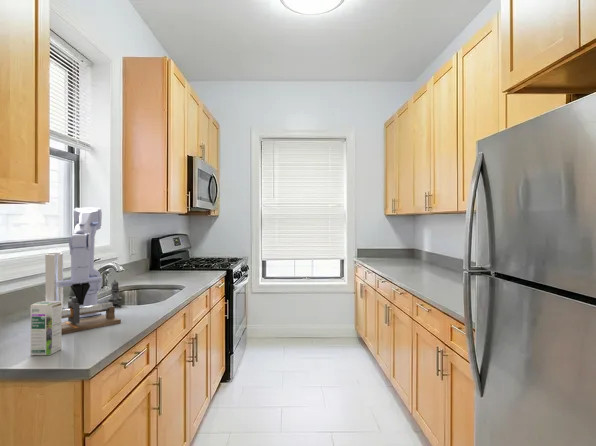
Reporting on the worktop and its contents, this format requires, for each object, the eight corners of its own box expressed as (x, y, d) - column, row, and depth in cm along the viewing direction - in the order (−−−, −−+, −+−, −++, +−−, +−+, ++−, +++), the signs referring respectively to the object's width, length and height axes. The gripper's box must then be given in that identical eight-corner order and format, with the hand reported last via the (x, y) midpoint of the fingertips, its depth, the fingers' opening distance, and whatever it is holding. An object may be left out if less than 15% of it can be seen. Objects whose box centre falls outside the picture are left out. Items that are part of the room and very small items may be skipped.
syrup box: (29, 356, 108) (29, 304, 108) (43, 349, 114) (43, 300, 114) (49, 355, 108) (49, 304, 108) (62, 348, 114) (62, 300, 114)
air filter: (53, 307, 170) (53, 251, 170) (66, 307, 169) (66, 251, 169) (42, 310, 164) (41, 252, 164) (55, 311, 163) (55, 252, 163)
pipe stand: (43, 329, 135) (43, 309, 135) (108, 317, 151) (108, 299, 151) (53, 335, 127) (52, 314, 127) (120, 322, 143) (120, 303, 143)
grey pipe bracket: (68, 320, 139) (68, 297, 139) (73, 319, 140) (72, 296, 140) (74, 324, 134) (74, 300, 134) (79, 323, 135) (79, 299, 135)
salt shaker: (116, 308, 168) (116, 280, 168) (104, 307, 169) (104, 280, 169) (125, 305, 174) (124, 278, 174) (113, 304, 175) (113, 278, 175)
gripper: (60, 269, 130) (61, 309, 130) (105, 266, 141) (105, 302, 141) (54, 268, 135) (55, 306, 135) (98, 264, 146) (98, 300, 146)
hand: (80, 304), depth 138 cm, fingers closed
